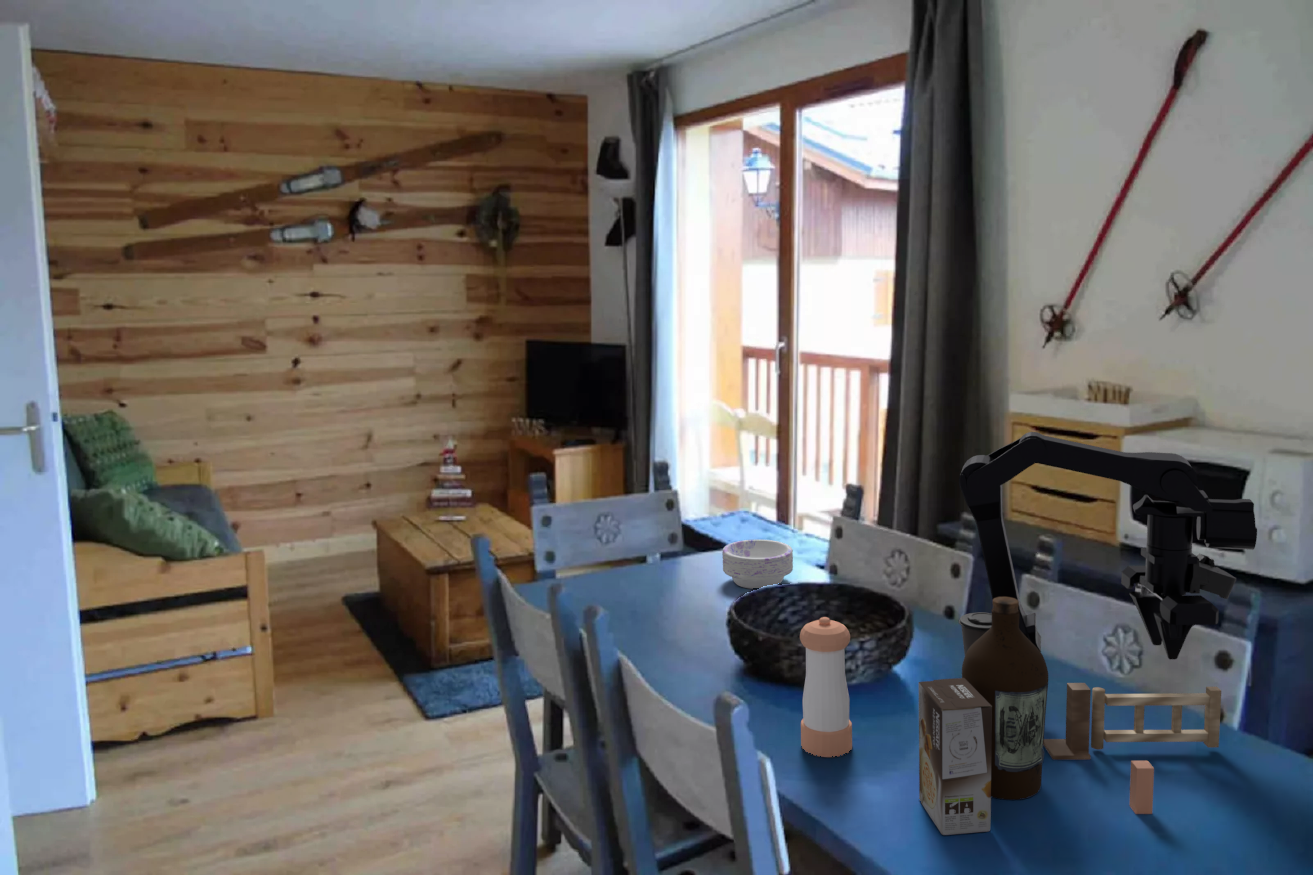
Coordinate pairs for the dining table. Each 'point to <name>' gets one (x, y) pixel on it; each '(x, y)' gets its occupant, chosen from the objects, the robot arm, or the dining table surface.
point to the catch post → (1141, 787)
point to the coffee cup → (974, 627)
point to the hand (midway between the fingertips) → (1164, 651)
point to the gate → (1140, 700)
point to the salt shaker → (825, 690)
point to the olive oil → (1011, 700)
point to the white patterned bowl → (757, 562)
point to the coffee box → (955, 756)
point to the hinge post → (1073, 726)
